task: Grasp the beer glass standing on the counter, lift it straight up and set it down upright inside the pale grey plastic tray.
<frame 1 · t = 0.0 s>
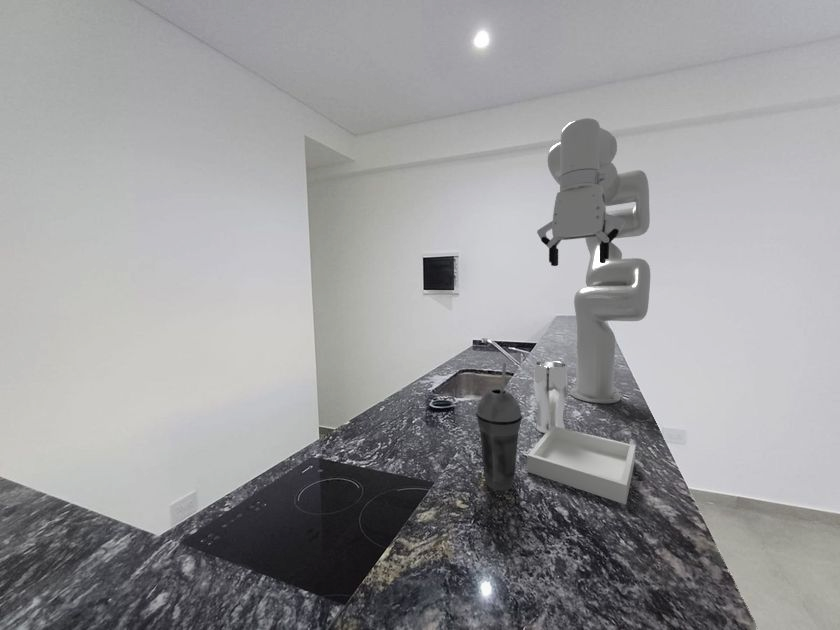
hand: (577, 264, 71), 37 cm above the countertop, tool pointing down, fingers open, 9 cm apart
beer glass: (550, 430, 72), on the countertop
beverage cup: (498, 483, 53), on the countertop
tray: (582, 466, 57), on the countertop
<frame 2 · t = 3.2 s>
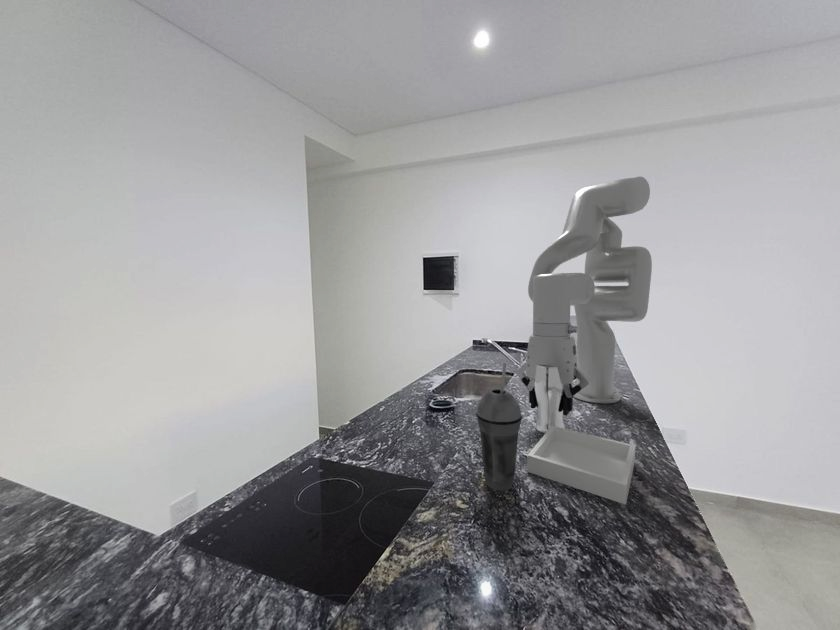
hand: (550, 409, 72), 5 cm above the countertop, tool pointing down, fingers closed on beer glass, 6 cm apart
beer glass: (549, 430, 72), on the countertop, touching gripper
everything else where it was.
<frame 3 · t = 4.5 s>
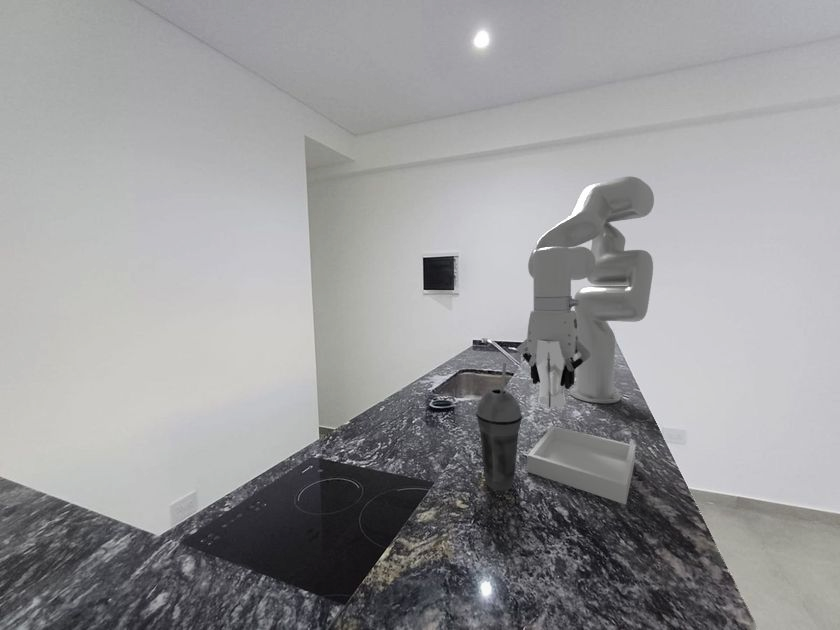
hand: (552, 384, 72), 10 cm above the countertop, tool pointing down, fingers closed on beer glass, 6 cm apart
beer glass: (552, 404, 73), point 5 cm above the countertop, touching gripper
everything else where it was.
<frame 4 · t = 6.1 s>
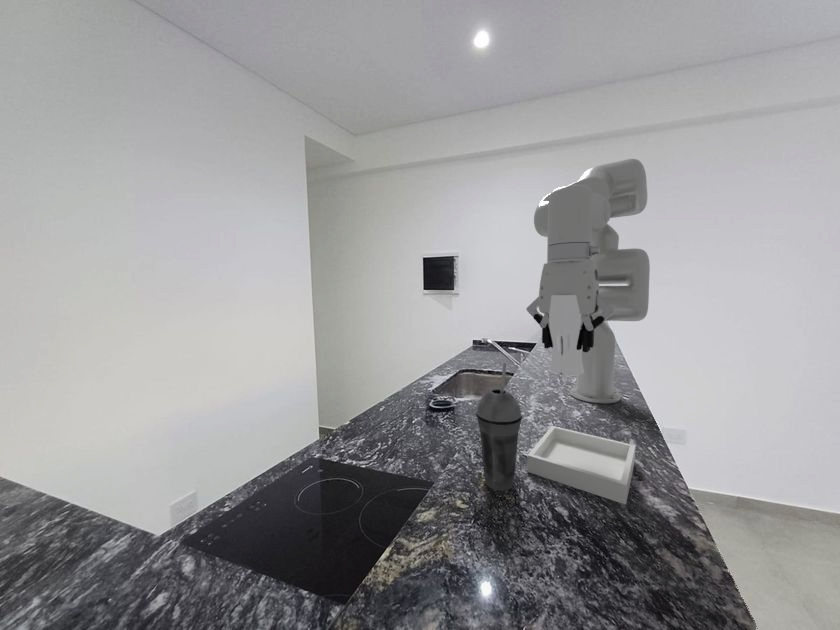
hand: (566, 348, 62), 20 cm above the countertop, tool pointing down, fingers closed on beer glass, 6 cm apart
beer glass: (566, 372, 63), point 15 cm above the countertop, touching gripper
everything else where it was.
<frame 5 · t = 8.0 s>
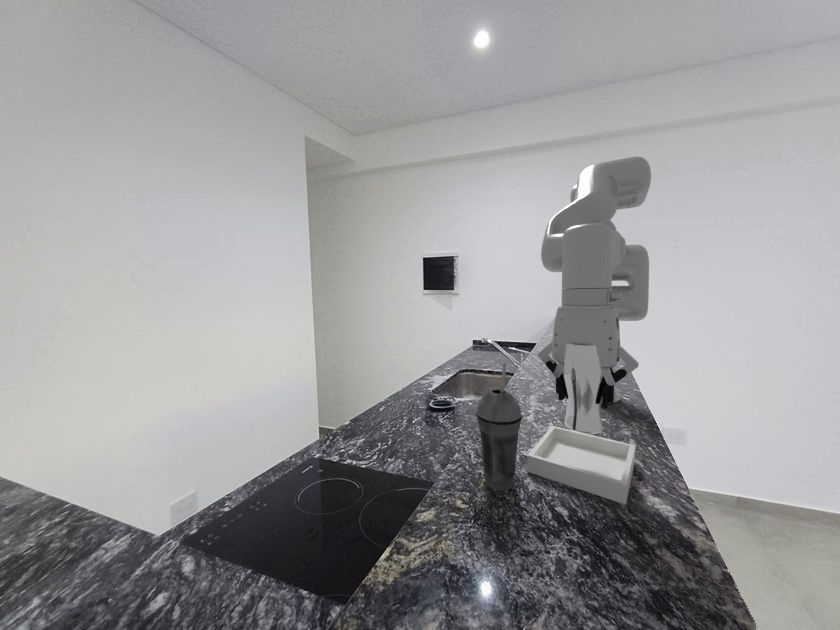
hand: (583, 401, 56), 12 cm above the countertop, tool pointing down, fingers closed on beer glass, 6 cm apart
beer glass: (582, 427, 57), point 7 cm above the countertop, touching gripper
everything else where it was.
when the fingers open (6 cm above the countertop, at t = 9.5 s): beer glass drops 1 cm, resting on tray.
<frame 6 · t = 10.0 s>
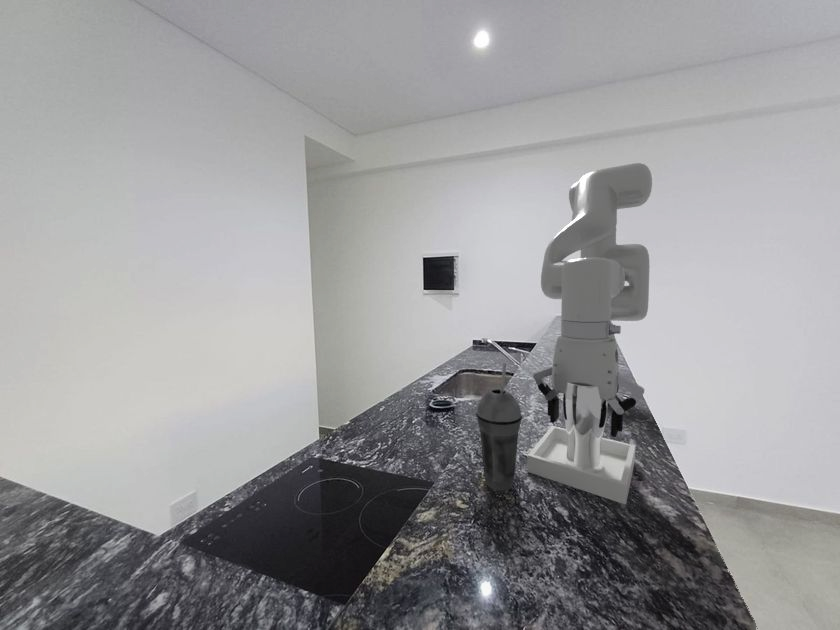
hand: (583, 426, 57), 7 cm above the countertop, tool pointing down, fingers open, 9 cm apart
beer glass: (583, 464, 57), resting on tray
everything else where it was.
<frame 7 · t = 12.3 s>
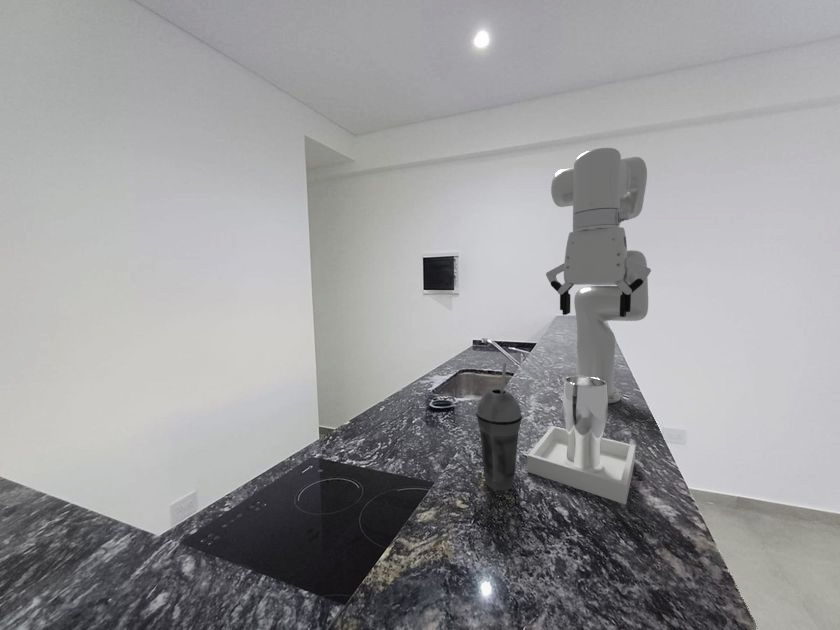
hand: (593, 315, 61), 26 cm above the countertop, tool pointing down, fingers open, 9 cm apart
nothing on the countertop moved.
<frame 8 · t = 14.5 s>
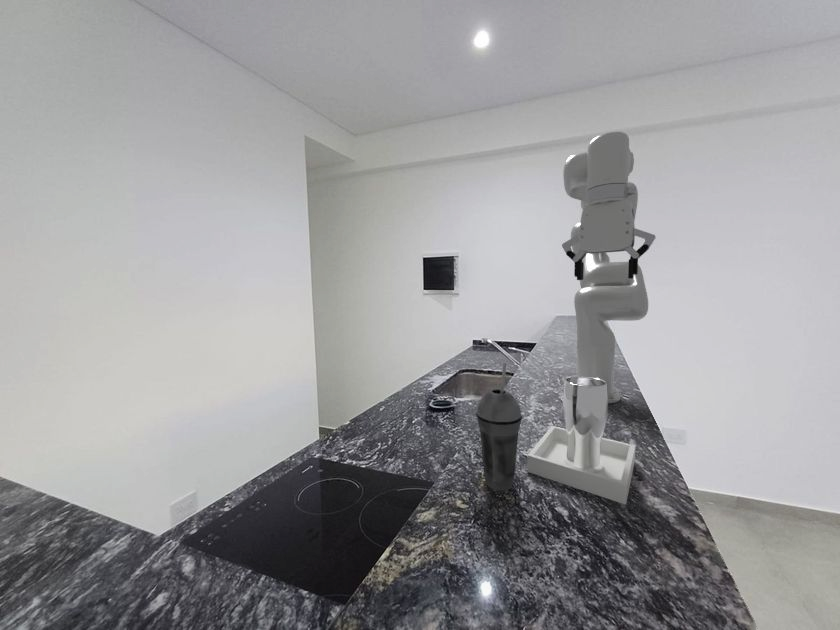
hand: (604, 279, 69), 33 cm above the countertop, tool pointing down, fingers open, 9 cm apart
nothing on the countertop moved.
at the end: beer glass inside the target area on the tray (0.2 cm from its centre), point 0.4 cm above the tray's base; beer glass tilted 0°; the gripper is holding nothing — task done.
